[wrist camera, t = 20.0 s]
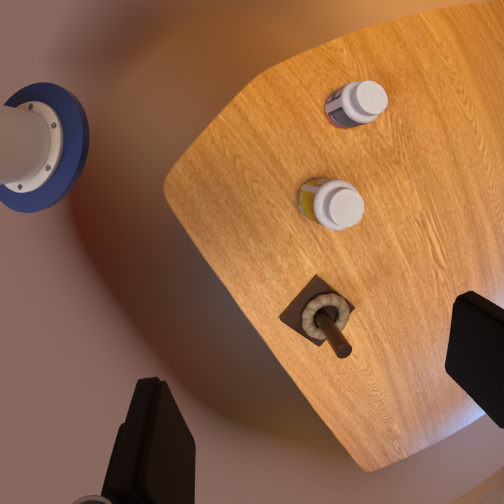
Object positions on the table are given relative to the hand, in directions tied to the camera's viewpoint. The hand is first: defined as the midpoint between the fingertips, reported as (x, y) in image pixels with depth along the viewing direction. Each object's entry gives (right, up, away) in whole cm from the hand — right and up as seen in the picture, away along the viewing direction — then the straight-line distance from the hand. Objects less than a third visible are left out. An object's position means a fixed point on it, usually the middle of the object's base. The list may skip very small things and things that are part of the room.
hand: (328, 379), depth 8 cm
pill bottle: (+10, +23, +29) cm, 38 cm away
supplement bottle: (+6, +11, +32) cm, 34 cm away
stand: (+7, -5, +36) cm, 37 cm away
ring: (+8, -5, +34) cm, 35 cm away
